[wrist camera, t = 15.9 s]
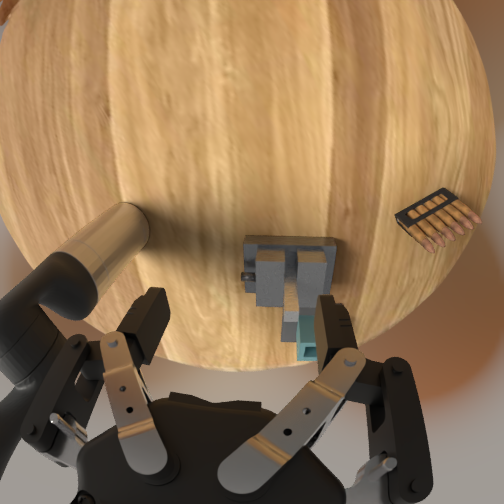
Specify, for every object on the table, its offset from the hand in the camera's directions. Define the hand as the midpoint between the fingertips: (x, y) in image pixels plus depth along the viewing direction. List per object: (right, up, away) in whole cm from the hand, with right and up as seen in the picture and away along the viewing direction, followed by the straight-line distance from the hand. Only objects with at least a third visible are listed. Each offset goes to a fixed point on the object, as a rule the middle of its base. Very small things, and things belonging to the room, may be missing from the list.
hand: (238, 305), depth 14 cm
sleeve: (+12, -11, +37) cm, 40 cm away
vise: (+7, +1, +31) cm, 32 cm away
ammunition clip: (+28, +10, +24) cm, 39 cm away
